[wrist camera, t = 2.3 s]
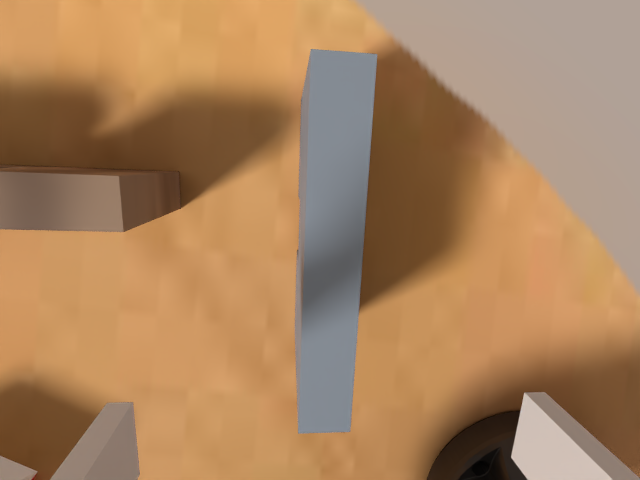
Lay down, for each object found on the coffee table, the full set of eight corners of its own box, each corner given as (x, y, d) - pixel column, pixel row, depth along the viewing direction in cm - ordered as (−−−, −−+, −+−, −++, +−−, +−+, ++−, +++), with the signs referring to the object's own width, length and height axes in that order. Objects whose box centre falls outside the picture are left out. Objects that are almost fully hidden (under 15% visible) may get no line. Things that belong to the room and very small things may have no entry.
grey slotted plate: (338, 102, 22) (377, 53, 12) (326, 329, 25) (350, 431, 16) (301, 100, 22) (310, 49, 12) (294, 329, 25) (298, 433, 15)
